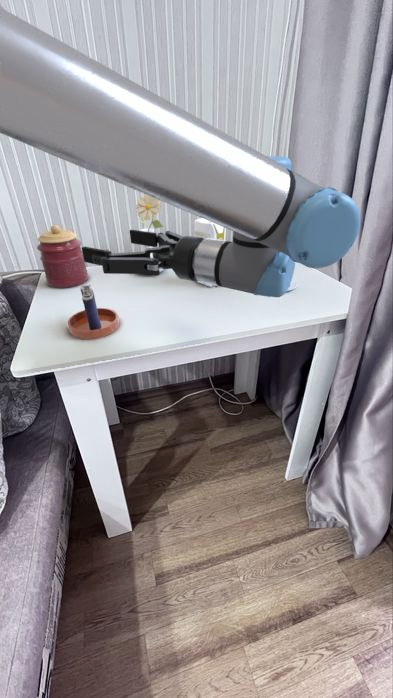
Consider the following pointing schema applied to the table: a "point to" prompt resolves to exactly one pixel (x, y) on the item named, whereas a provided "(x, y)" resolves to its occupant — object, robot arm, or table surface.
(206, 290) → the table surface
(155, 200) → the flower in vase
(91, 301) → the flask
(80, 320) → the terracotta plant saucer
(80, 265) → the kitchen canister
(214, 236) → the juice carton
